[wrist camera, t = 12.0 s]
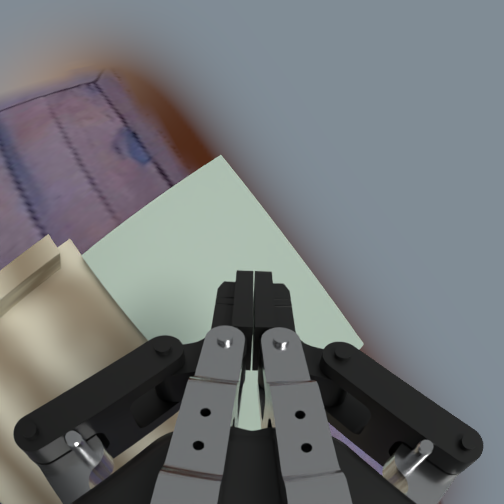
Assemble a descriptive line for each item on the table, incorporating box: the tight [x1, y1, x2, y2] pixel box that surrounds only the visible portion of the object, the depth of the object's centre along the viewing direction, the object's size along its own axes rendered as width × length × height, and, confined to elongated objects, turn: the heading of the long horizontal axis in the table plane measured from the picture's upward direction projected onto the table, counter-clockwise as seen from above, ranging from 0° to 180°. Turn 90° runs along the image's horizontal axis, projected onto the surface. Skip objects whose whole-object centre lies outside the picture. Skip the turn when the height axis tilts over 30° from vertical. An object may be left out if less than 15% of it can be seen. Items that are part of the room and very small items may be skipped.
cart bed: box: [0, 234, 179, 504], centre depth 17 cm, size 20×26×7 cm
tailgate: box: [81, 155, 363, 431], centre depth 26 cm, size 2×22×14 cm
